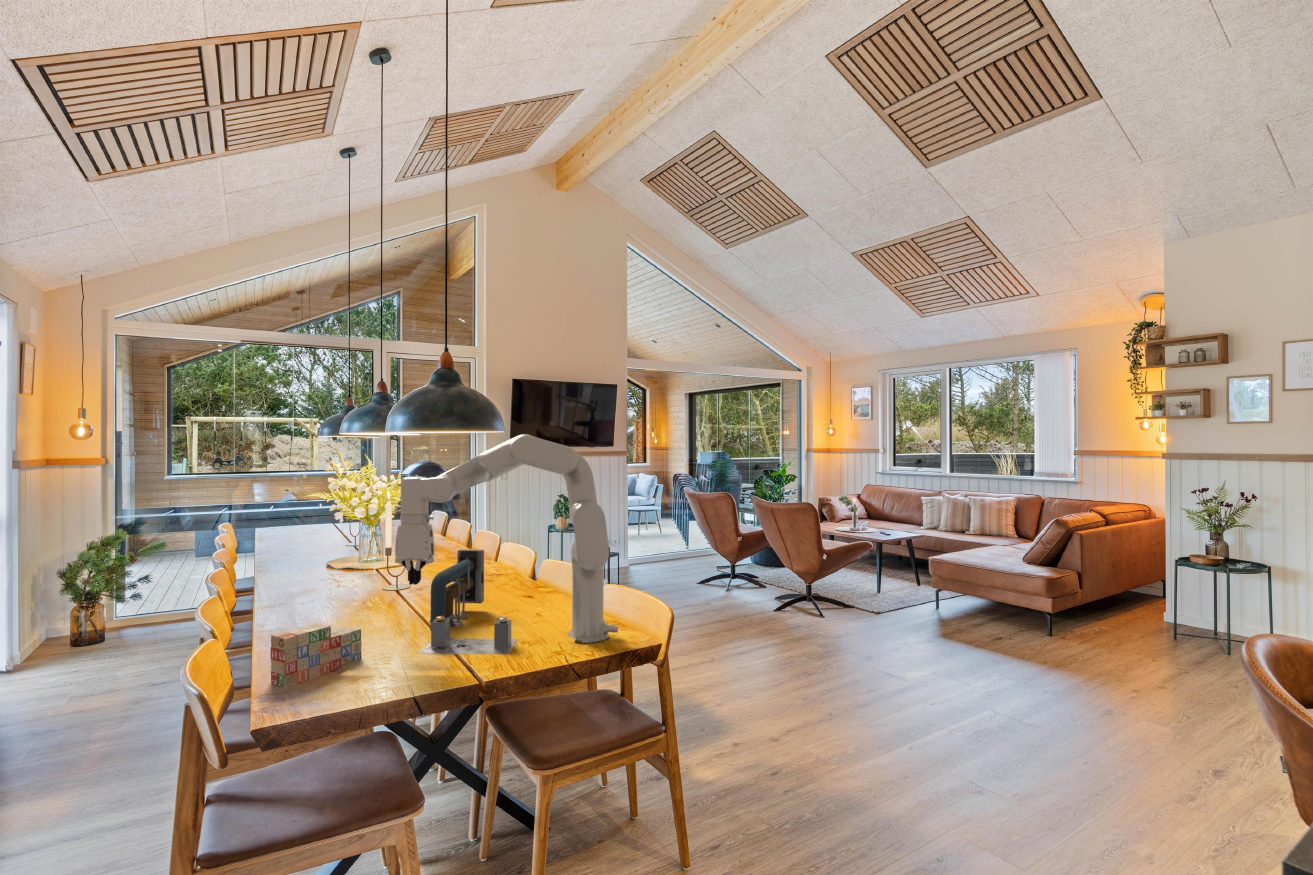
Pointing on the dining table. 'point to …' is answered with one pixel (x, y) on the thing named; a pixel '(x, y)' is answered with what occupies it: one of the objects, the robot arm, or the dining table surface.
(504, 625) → the fixed leg
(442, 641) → the block
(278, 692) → the dining table surface
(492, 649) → the hole plate
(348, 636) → the stack of blocks
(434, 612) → the curved pipe assembly
